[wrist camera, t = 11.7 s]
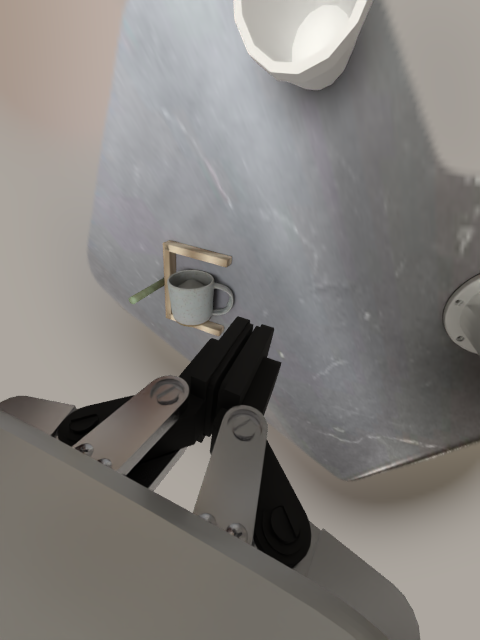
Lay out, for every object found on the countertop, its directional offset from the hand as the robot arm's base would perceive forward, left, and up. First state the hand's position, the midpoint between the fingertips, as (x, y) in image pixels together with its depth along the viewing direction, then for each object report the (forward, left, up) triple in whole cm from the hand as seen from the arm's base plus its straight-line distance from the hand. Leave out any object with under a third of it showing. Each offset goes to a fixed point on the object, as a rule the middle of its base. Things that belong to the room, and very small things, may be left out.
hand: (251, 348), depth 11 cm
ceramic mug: (+16, +15, -29) cm, 37 cm away
